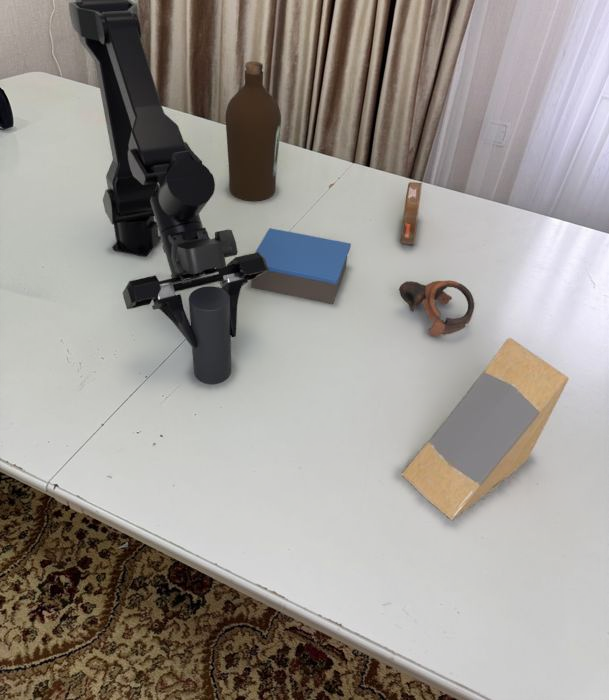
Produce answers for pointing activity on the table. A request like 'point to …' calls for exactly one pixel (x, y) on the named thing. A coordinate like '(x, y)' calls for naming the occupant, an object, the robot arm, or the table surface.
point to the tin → (411, 213)
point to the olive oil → (253, 138)
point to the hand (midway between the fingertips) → (214, 342)
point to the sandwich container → (488, 430)
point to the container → (302, 265)
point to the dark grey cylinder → (211, 334)
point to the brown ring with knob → (427, 294)
